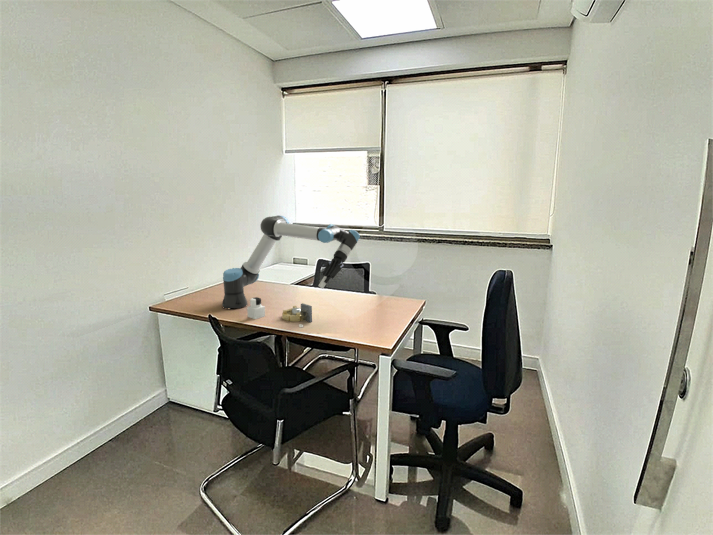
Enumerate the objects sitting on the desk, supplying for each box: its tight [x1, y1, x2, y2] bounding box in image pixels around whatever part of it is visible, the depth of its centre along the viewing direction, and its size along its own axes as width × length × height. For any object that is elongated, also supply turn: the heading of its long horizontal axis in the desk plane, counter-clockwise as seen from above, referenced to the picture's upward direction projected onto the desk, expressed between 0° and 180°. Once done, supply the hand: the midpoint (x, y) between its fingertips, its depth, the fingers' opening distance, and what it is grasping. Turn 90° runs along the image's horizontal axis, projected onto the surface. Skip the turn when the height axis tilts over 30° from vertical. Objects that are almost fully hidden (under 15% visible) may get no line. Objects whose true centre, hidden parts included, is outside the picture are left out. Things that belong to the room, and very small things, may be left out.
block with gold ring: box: [281, 302, 313, 323], centre depth 210 cm, size 20×15×9 cm
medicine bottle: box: [246, 296, 266, 320], centre depth 213 cm, size 7×7×12 cm
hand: (320, 287), depth 208 cm, fingers closed
